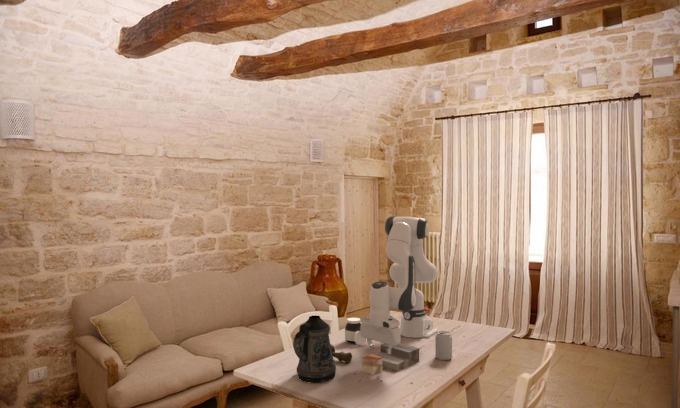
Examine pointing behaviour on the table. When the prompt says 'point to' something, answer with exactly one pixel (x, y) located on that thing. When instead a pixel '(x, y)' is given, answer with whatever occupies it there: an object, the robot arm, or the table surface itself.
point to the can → (443, 345)
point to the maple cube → (372, 364)
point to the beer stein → (314, 351)
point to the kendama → (341, 355)
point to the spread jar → (354, 332)
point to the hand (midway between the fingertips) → (379, 351)
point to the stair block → (398, 356)
